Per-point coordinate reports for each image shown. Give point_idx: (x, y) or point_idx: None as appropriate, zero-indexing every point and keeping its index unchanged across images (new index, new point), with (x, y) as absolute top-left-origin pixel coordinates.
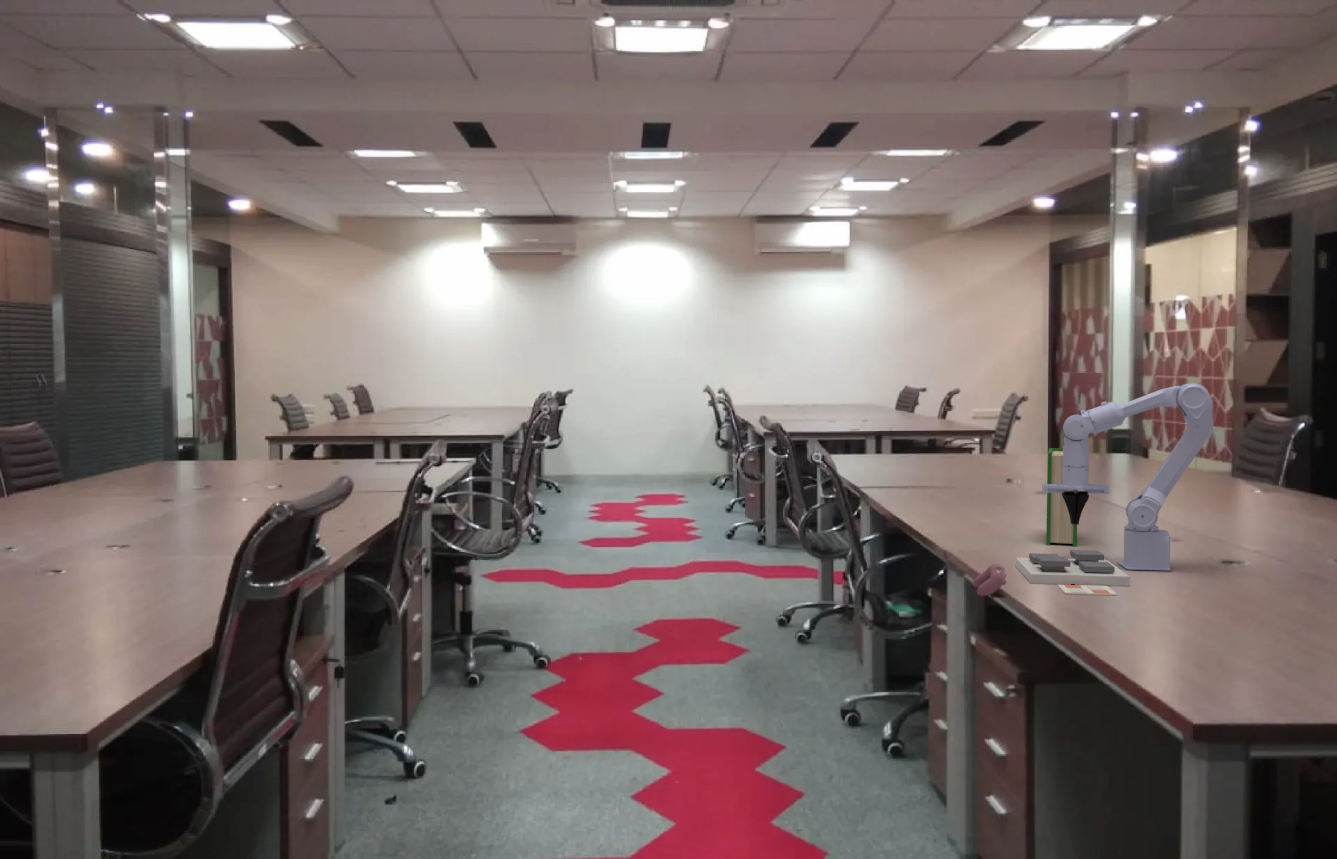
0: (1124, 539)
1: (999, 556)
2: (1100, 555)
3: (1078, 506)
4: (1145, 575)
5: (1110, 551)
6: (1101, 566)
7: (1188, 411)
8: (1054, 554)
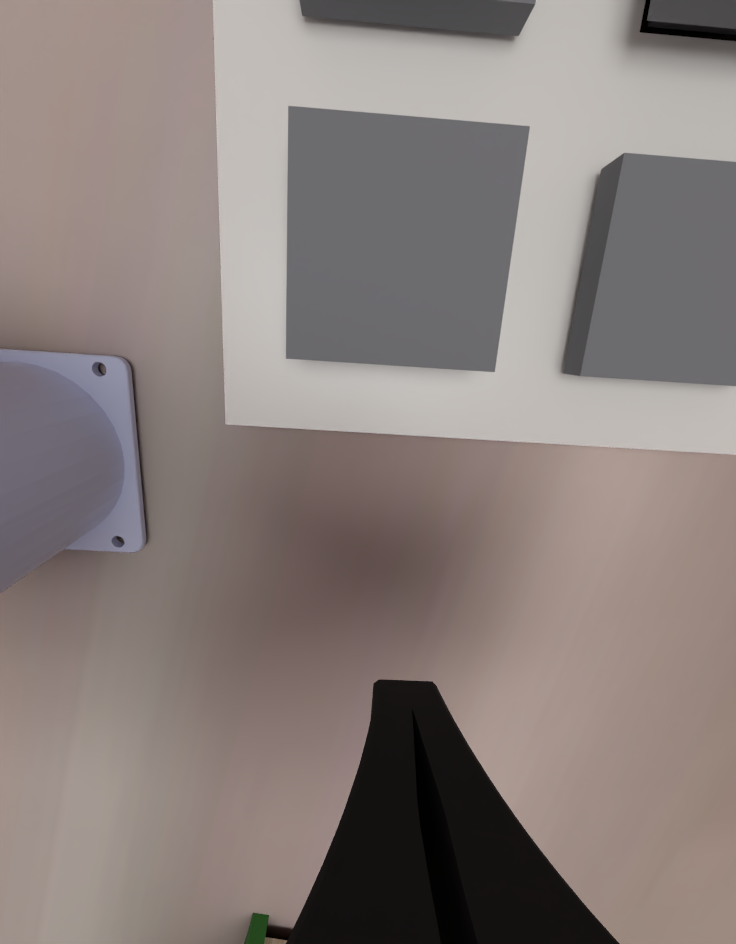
0: (12, 523)
1: (687, 693)
2: (320, 112)
3: (416, 893)
4: (45, 190)
5: (127, 835)
6: None
7: None
8: (603, 349)
